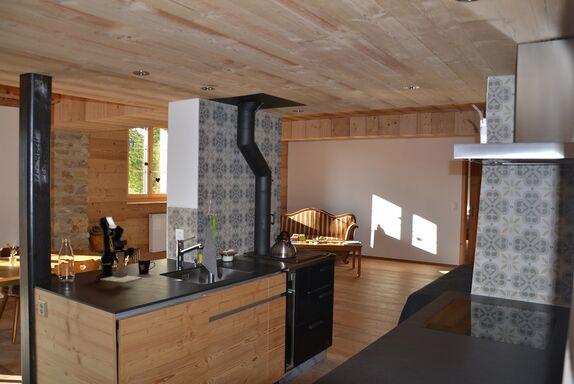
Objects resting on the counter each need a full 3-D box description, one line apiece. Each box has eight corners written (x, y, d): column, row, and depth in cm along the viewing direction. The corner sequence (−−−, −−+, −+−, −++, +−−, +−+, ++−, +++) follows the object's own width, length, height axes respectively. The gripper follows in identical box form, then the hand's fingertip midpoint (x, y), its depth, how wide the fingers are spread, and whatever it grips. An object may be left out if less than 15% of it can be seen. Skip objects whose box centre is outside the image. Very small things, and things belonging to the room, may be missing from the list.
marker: (115, 273, 295) (116, 252, 294) (120, 272, 298) (120, 251, 298) (120, 273, 293) (121, 253, 293) (125, 272, 297) (125, 252, 297)
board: (100, 279, 306) (100, 275, 306) (118, 275, 321) (118, 271, 321) (124, 283, 298) (124, 278, 298) (142, 278, 314) (142, 273, 314)
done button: (114, 274, 315) (115, 268, 315) (119, 272, 319) (119, 267, 319) (120, 274, 314) (120, 268, 314) (124, 273, 318) (124, 267, 318)
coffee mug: (134, 274, 328) (135, 259, 327) (143, 272, 335) (144, 258, 335) (147, 275, 322) (147, 261, 322) (156, 273, 330) (156, 259, 330)
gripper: (104, 236, 293) (108, 256, 284) (134, 234, 304) (138, 254, 295) (100, 247, 300) (104, 266, 291) (130, 245, 311) (134, 264, 302)
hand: (121, 262), depth 295 cm, fingers closed on marker, 4 cm apart
